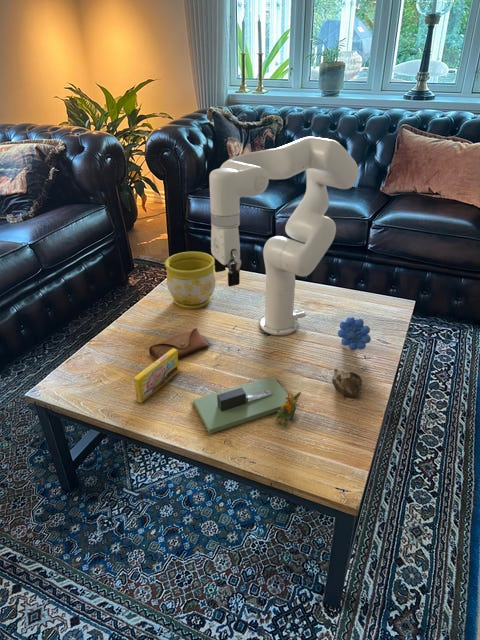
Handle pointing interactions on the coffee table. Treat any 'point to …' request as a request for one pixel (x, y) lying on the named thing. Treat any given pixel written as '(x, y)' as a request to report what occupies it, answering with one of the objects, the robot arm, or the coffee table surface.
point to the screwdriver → (239, 398)
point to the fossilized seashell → (347, 383)
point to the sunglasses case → (179, 345)
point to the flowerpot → (191, 278)
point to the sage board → (243, 413)
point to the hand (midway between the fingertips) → (226, 277)
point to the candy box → (156, 375)
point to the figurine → (287, 409)
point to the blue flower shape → (354, 333)
